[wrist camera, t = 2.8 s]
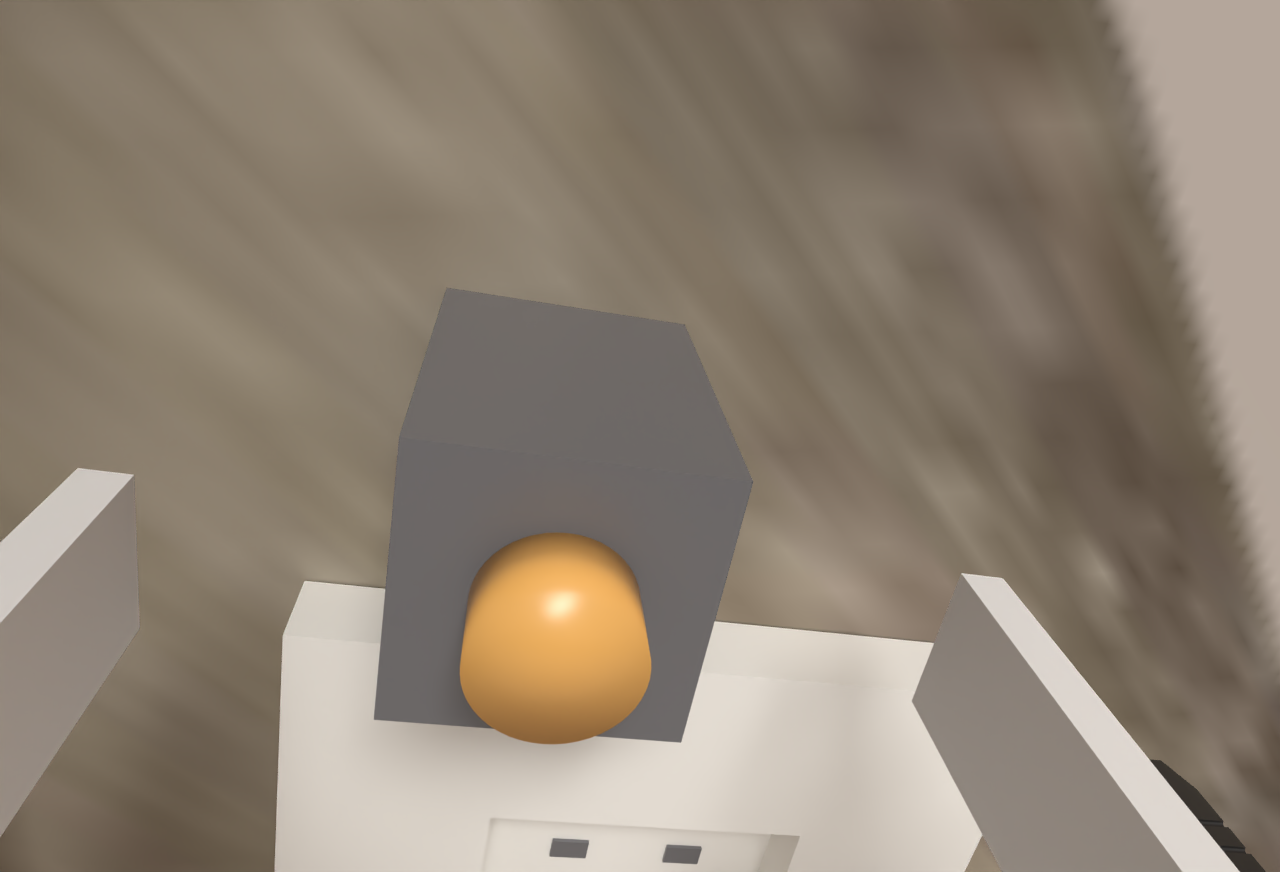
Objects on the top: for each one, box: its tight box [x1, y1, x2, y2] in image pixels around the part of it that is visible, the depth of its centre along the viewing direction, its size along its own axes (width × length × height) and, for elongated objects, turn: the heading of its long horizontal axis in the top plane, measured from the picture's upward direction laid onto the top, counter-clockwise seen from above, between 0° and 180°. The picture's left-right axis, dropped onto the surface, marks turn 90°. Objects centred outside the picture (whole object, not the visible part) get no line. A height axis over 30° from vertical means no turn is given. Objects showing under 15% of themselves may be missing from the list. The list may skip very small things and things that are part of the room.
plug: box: [374, 288, 753, 744], centre depth 16 cm, size 5×5×8 cm
